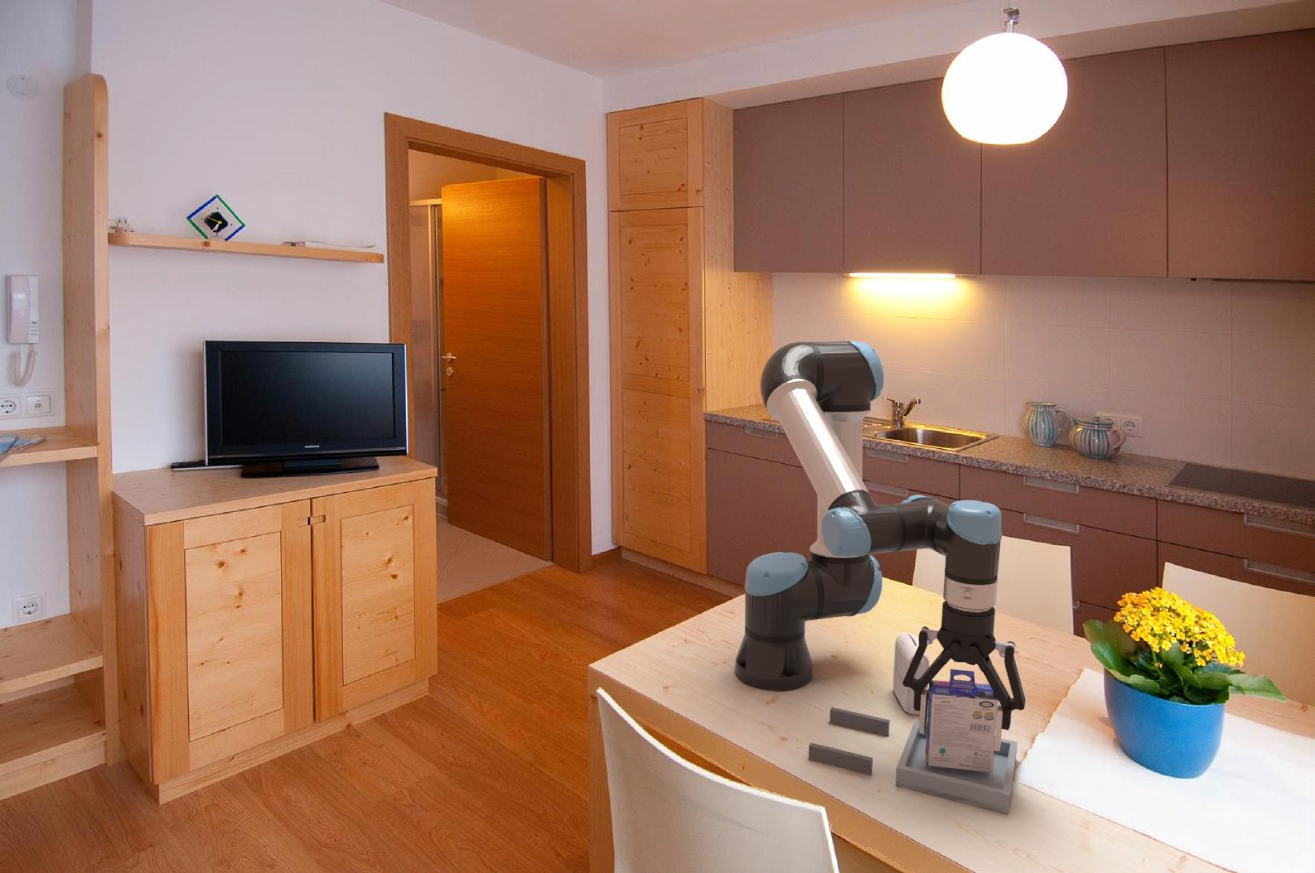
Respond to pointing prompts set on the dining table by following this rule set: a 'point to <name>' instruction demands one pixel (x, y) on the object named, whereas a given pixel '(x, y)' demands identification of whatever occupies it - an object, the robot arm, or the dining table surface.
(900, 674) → the photo printer
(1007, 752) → the tray
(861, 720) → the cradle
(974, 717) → the ink cartridge box
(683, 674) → the dining table surface
